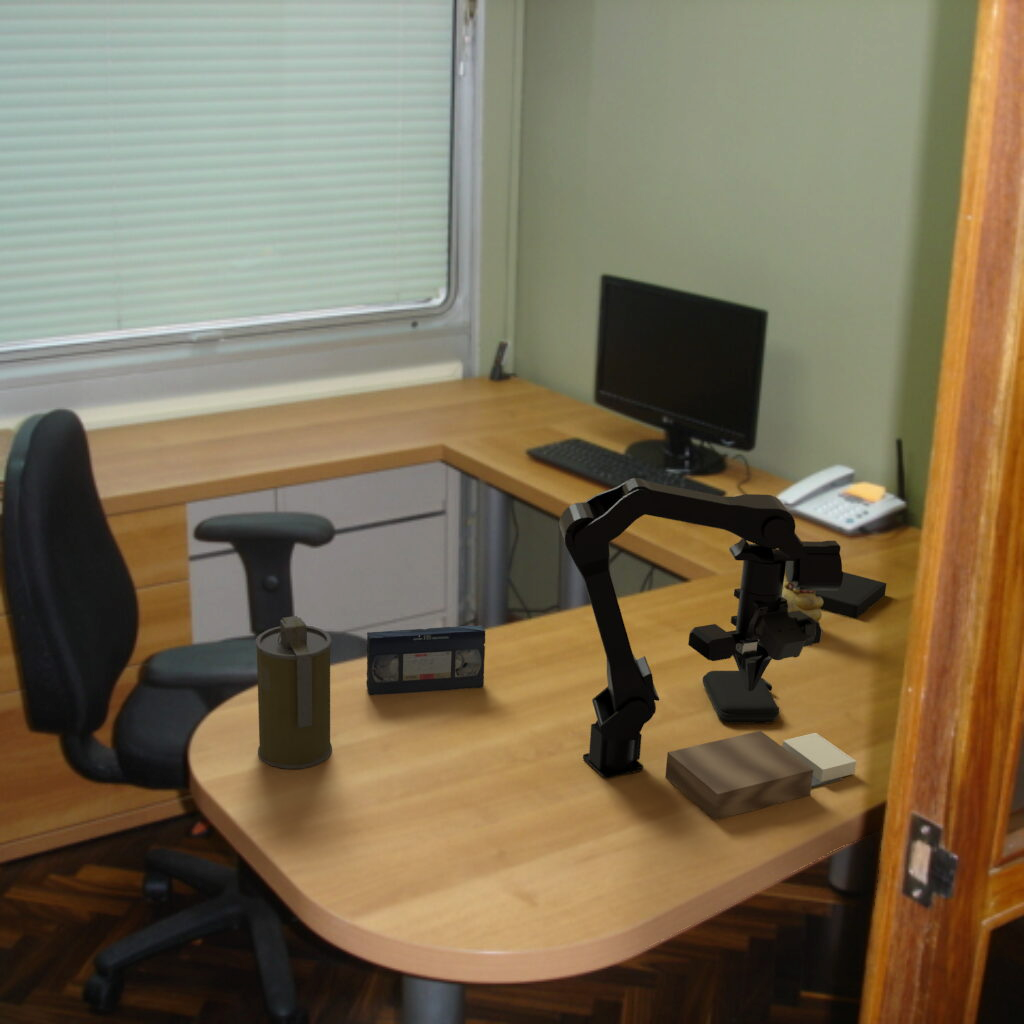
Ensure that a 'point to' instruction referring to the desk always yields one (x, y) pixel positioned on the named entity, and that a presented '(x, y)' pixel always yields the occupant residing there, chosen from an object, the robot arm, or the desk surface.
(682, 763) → the riser
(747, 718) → the carrying case or bag
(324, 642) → the canister
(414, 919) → the desk surface
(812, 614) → the decorative figurine
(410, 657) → the vhs cassette tape
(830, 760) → the cream rectangular box
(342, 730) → the desk surface
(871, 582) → the external hard drive
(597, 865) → the desk surface
